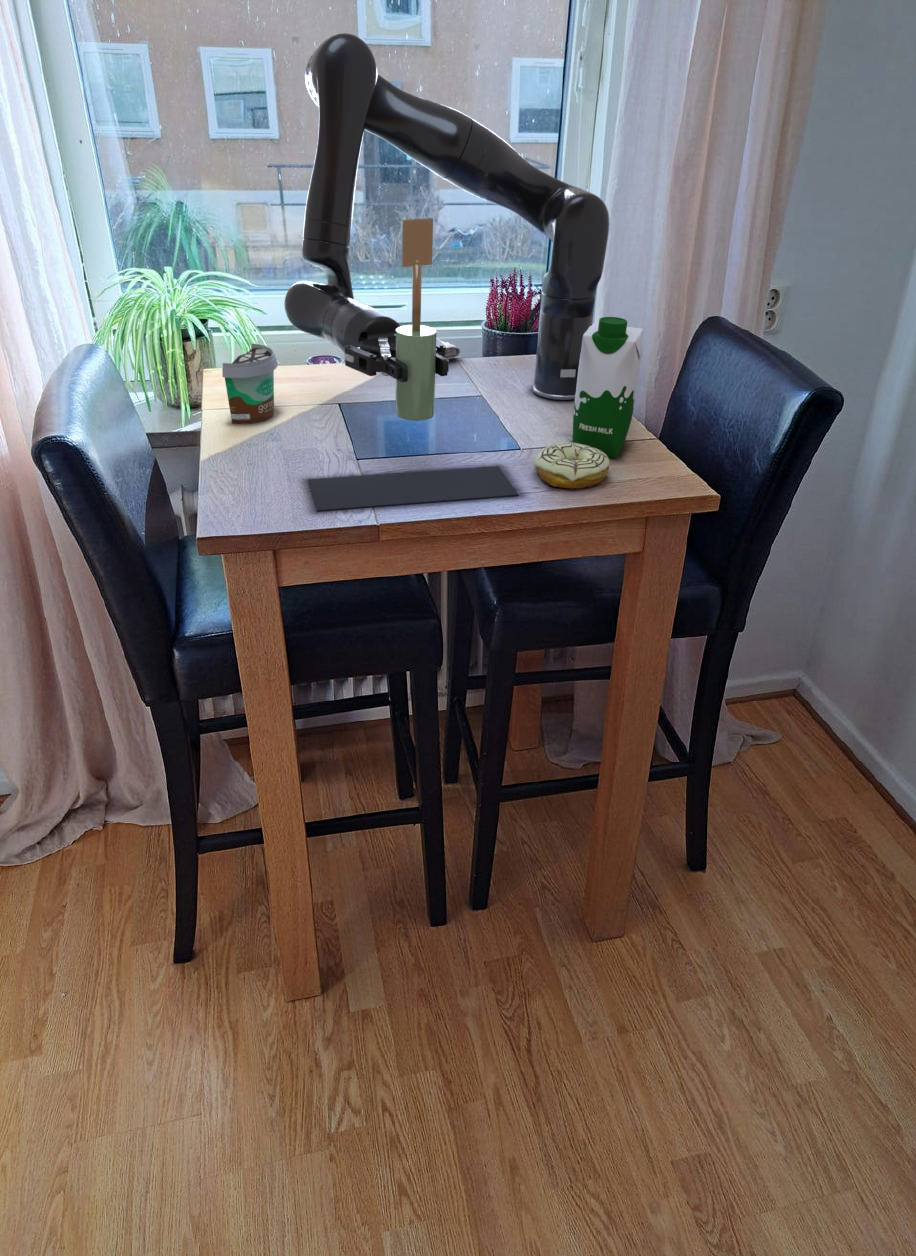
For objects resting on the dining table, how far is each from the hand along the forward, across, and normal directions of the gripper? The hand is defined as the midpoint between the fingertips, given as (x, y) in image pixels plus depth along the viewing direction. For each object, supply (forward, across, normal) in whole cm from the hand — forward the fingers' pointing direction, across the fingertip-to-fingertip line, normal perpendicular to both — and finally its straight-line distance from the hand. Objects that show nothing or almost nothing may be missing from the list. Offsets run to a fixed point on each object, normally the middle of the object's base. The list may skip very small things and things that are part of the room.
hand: (425, 371), depth 113 cm
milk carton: (-2, +33, +17) cm, 37 cm away
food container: (-38, -9, +18) cm, 43 cm away
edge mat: (-2, 0, +17) cm, 17 cm away
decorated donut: (+5, +22, +17) cm, 28 cm away
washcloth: (-56, +28, +18) cm, 65 cm away
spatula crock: (-3, 0, +6) cm, 7 cm away
